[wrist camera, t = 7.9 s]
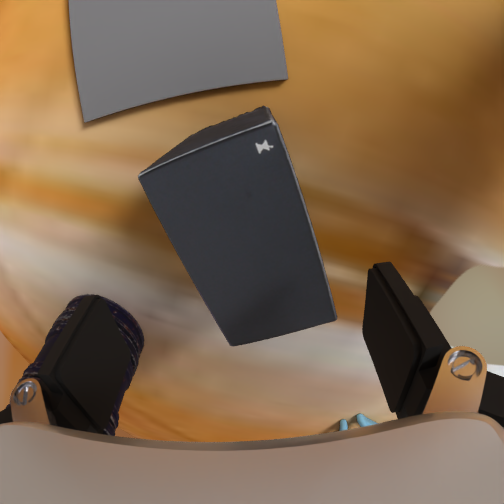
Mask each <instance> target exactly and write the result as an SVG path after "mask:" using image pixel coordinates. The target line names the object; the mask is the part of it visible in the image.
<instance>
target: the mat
mask: <svg viewBox="0 0 504 504" xmlns="http://www.w3.org/2000/svg"><path fill="white" fill-rule="evenodd" d="M69 16H70V29H71V39H72V48H73V57H74V64H75V72H76V78H77V85H78V91H79V96H80V102H81V107H82V113H83V118H84V122H89V121H92V120H95V119H98V118H101V117H104V116H107V115H110V114H113V113H116V112H119V111H123V110H126V109H130V108H133V107H137V106H140V105H144V104H148V103H151V102H155V101H159V100H163V99H168V98H172V97H176V96H181V95H185V94H190V93H195V92H200V91H205V90H211V89H217V88H223V87H229V86H235V85H242V84H250V83H258V82H267V81H276V80H287V79H288V74H287V67H286V60H285V53H284V46H283V40H282V34H281V27H280V21H279V16H278V10H277V4H276V0H69Z"/></svg>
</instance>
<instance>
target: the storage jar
mask: <svg viewBox="0 0 504 504" xmlns="http://www.w3.org/2000/svg"><path fill="white" fill-rule="evenodd" d="M85 296H92V295H88V294H87V295H80V296H77V297H75V298H74V299H72V300H71V301H70V303H69V304H68V306H67V307H66V309H65V310H64V311H63V313H62V314H61V315H60V316H59V317H58V318H57V320H56V321H55V323H54V324H53V326H52V328H51V329H50V331H49V333H48V335H47V337H46V340H45V345H44V346H43V348H42V350H41V351H40V353H39V355H38V356H37V358H36V360H35V361H34V363H32V364H30V365H29V366H28V368H27V369H26V370H25V371H24V373H23V376H22V378H21V379H20V380H19V382H18V383H20V382H21V381H23V380H25V379H28V378H33V379H36V380H37V381H38V382H39V383H40V381H41V378H40V377H39V376H38V374H37V373H38V371H39V369H40V368H41V366H42V364H43V362H44V360H45V359H46V357H47V355H48V353H49V352H50V350H51V348H52V347H53V345H54V343H55V342H56V340H57V338H58V337H59V335H60V333H61V332H62V330H63V328H64V327H65V325H66V324H67V322H68V320H69V319H70V317H71V316H72V314H73V313H74V311H75V310H76V308H77V306H78V305H79V303H80V302H81V300H82V299H83V298H84V297H85ZM100 297H101V296H100ZM101 298H102V299H104V300H105V301H106V303H107V305H108V307H109V309H110V312H111V314H112V316H113V318H114V320H115V322H116V324H117V326H118V328H119V330H120V332H121V334H122V336H123V338H124V340H125V342H126V344H127V346H128V348H129V350H130V353H131V358H130V361H129V364H128V367H127V370H126V372H125V375H124V378H123V381H122V384H121V387H120V390H119V393H118V395H117V398H116V401H115V404H114V408H113V411H112V414H111V417H110V420H109V423H108V426H107V428H106V429H104V430H103V435H110V436H115V429H116V428H117V427H118V420H119V414H118V411H119V408H120V405H121V402H122V399H123V396H124V393H125V391H126V390H127V389H128V388H129V386H130V383H131V381H132V377H133V376H134V374H135V371H136V369H137V366H138V360H139V357H140V353H141V351H142V348H143V346H144V336H143V333H142V330H141V328H140V326H139V324H138V323H137V321H136V320H135V319H134V318H133V316H132V315H131V314H130V313H129V312H127V311H126V310H125V309H124V308H122V307H121V306H120V305H118V304H117V303H115V302H113V301H111V300H109V299H107V298H104V297H101ZM18 383H17V384H18ZM9 406H11V403H10V404H8V405H7V407H6V408H8V407H9Z"/></svg>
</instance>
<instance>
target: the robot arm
mask: <svg viewBox="0 0 504 504" xmlns="http://www.w3.org/2000/svg"><path fill="white" fill-rule="evenodd" d="M362 330H363V337H364V340H365V342H366V345H367V348H368V350H369V353H370V356H371V358H372V361H373V364H374V366H375V369H376V372H377V375H378V377H379V380H380V383H381V386H382V389H383V391H384V394H385V397H386V400H387V403H388V406H389V409H390V411H391V412H392V413H393V412H396V415H397V418H398V419H397V420H392V421H387V422H383V423H378V424H374V425H369V426H364V427H359V428H354V429H348V430H342V431H336V432H330V433H324V434H318V435H310V436H303V437H294V438H285V439H274V440H261V441H244V442H175V441H158V440H146V439H135V438H125V437H117V436H110V435H103V430H104V429H106V428H107V426H108V423H109V420H110V417H111V414H112V411H113V408H114V404H115V401H116V398H117V395H118V393H119V390H120V387H121V384H122V381H123V378H124V375H125V372H126V370H127V367H128V364H129V361H130V358H131V353H130V350H129V348H128V346H127V344H126V342H125V340H124V338H123V336H122V334H121V332H120V330H119V328H118V326H117V324H116V322H115V320H114V318H113V316H112V314H111V312H110V309H109V307H108V305H107V303H106V301H105V300H104V299H102V298H101V297H100V296H99V295H92V296H85V297H84V298H83V299H82V300H81V302H80V303H79V305H78V306H77V308H76V310H75V311H74V313H73V314H72V316H71V317H70V319H69V320H68V322H67V324H66V325H65V327H64V328H63V330H62V332H61V333H60V335H59V337H58V338H57V340H56V342H55V343H54V345H53V347H52V348H51V350H50V352H49V353H48V355H47V357H46V359H45V360H44V362H43V364H42V366H41V368H40V369H39V371H38V373H37V374H38V376H39V377H40V378H41V381H40V383H39V382H38V381H37V380H36V379H33V378H28V379H25V380H23V381H21V382H20V383H18V384H17V385H16V387H15V388H14V389H13V391H12V393H11V397H10V403H11V406H9V407H8V408H6V409H4V410H3V411H1V412H0V504H504V377H502V376H499V375H496V374H493V373H491V372H488V371H487V364H486V361H485V359H484V357H483V356H482V355H481V354H480V353H479V352H478V351H476V350H475V349H473V348H470V347H465V346H459V347H454V348H451V347H450V345H449V343H448V342H447V340H446V339H445V337H444V335H443V334H442V332H441V331H440V329H439V327H438V326H437V324H436V323H435V321H434V319H433V318H432V316H431V315H430V313H429V312H428V310H427V309H426V307H425V306H424V304H423V303H422V301H421V300H420V298H419V297H418V296H414V295H413V293H412V292H411V290H410V289H409V287H408V286H407V284H406V283H405V281H404V280H403V279H402V277H401V276H400V274H399V273H398V271H397V270H396V269H395V267H394V266H393V264H392V263H391V262H383V263H376V264H374V265H373V268H372V269H369V270H368V277H367V290H366V300H365V310H364V319H363V328H362Z"/></svg>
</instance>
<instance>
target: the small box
mask: <svg viewBox="0 0 504 504" xmlns="http://www.w3.org/2000/svg"><path fill="white" fill-rule="evenodd" d="M138 178H139V181H140V183H141V185H142V187H143V189H144V191H145V193H146V195H147V197H148V199H149V201H150V203H151V205H152V207H153V209H154V211H155V213H156V215H157V216H158V218H159V220H160V222H161V224H162V226H163V228H164V230H165V232H166V233H167V235H168V237H169V239H170V241H171V243H172V245H173V246H174V248H175V250H176V252H177V254H178V256H179V257H180V259H181V261H182V263H183V265H184V266H185V268H186V270H187V272H188V274H189V275H190V277H191V279H192V281H193V283H194V284H195V286H196V288H197V290H198V291H199V293H200V295H201V297H202V298H203V300H204V302H205V304H206V305H207V307H208V309H209V311H210V312H211V314H212V316H213V317H214V319H215V321H216V323H217V324H218V326H219V328H220V329H221V331H222V333H223V334H224V336H225V338H226V339H227V341H228V343H229V344H230V346H238V345H243V344H248V343H252V342H257V341H261V340H265V339H269V338H273V337H278V336H281V335H285V334H289V333H293V332H297V331H300V330H304V329H307V328H311V327H314V326H318V325H321V324H325V323H329V322H333V321H336V320H337V314H336V310H335V306H334V302H333V298H332V294H331V290H330V287H329V283H328V279H327V276H326V272H325V268H324V264H323V261H322V258H321V254H320V251H319V247H318V243H317V240H316V237H315V234H314V230H313V227H312V223H311V220H310V218H309V214H308V211H307V208H306V205H305V201H304V198H303V195H302V192H301V189H300V186H299V183H298V179H297V177H296V174H295V171H294V168H293V165H292V162H291V159H290V156H289V154H288V151H287V148H286V145H285V143H284V140H283V137H282V134H281V132H280V129H279V126H278V124H277V122H276V121H275V119H274V117H273V116H272V114H271V111H270V109H269V108H268V107H265V106H262V107H259V108H257V109H255V110H254V111H252V112H246V113H245V114H241V115H239V116H237V117H235V118H232V119H229V120H227V121H223V122H221V123H219V124H216V125H214V126H209V127H206V128H204V129H202V130H201V131H198V132H197V133H195V134H193V135H191V136H189V137H188V138H187V139H185V140H184V141H183V142H181V143H180V144H178V145H177V146H176V147H174V148H173V149H172V150H170V151H169V152H168V153H166V154H165V155H163V156H162V157H161V158H159V159H158V160H157V161H156V162H155V163H153V164H152V165H151V166H149V167H148V168H147V169H145V170H144V171H142V172H141V173H140V174H139V175H138Z"/></svg>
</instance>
